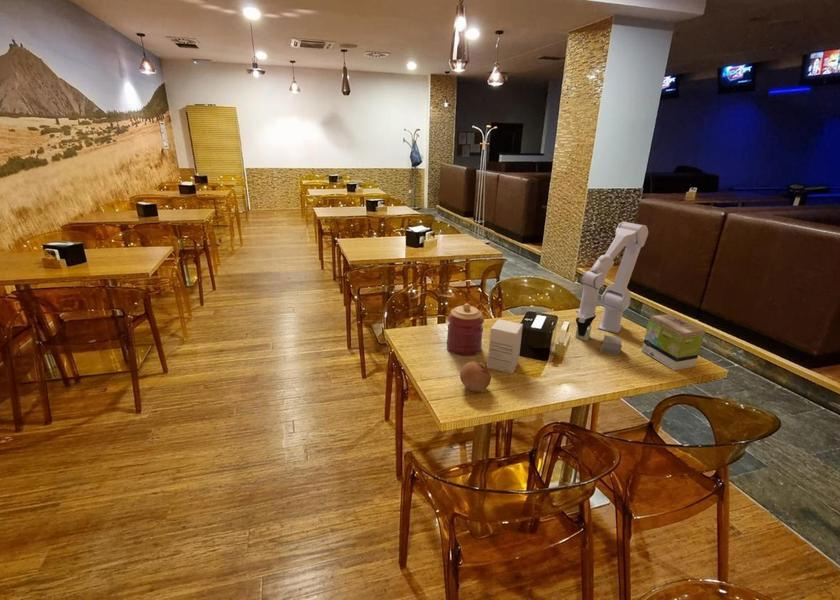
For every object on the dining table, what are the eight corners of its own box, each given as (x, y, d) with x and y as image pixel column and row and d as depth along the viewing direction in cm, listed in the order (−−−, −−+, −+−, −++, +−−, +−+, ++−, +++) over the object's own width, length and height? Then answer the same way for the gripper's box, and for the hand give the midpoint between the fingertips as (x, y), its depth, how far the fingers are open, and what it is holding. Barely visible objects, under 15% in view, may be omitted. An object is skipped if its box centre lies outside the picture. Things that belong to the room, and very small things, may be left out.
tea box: (640, 351, 158) (648, 315, 153) (660, 348, 161) (670, 312, 156) (673, 371, 145) (684, 332, 140) (695, 367, 148) (707, 329, 143)
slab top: (603, 340, 161) (604, 335, 160) (620, 344, 158) (621, 338, 158) (602, 347, 156) (603, 341, 155) (619, 351, 153) (621, 344, 152)
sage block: (578, 333, 172) (580, 323, 170) (589, 336, 169) (591, 326, 168) (575, 337, 168) (576, 326, 167) (586, 340, 166) (588, 329, 164)
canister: (473, 359, 148) (476, 313, 142) (440, 350, 154) (442, 305, 148) (486, 345, 159) (490, 301, 153) (455, 337, 165) (458, 294, 159)
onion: (485, 396, 133) (503, 373, 129) (468, 401, 126) (486, 376, 122) (466, 375, 138) (482, 352, 134) (448, 378, 131) (465, 354, 127)
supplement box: (494, 356, 151) (497, 318, 146) (518, 362, 147) (523, 323, 142) (486, 367, 143) (490, 327, 138) (512, 374, 140) (517, 333, 134)
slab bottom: (603, 346, 162) (605, 340, 161) (620, 351, 159) (621, 345, 158) (600, 352, 157) (601, 346, 156) (617, 357, 154) (618, 351, 153)
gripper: (583, 294, 171) (577, 325, 176) (573, 304, 160) (567, 337, 165) (601, 298, 167) (595, 329, 172) (592, 309, 156) (586, 342, 161)
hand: (583, 333), depth 168 cm, fingers closed on sage block, 4 cm apart
